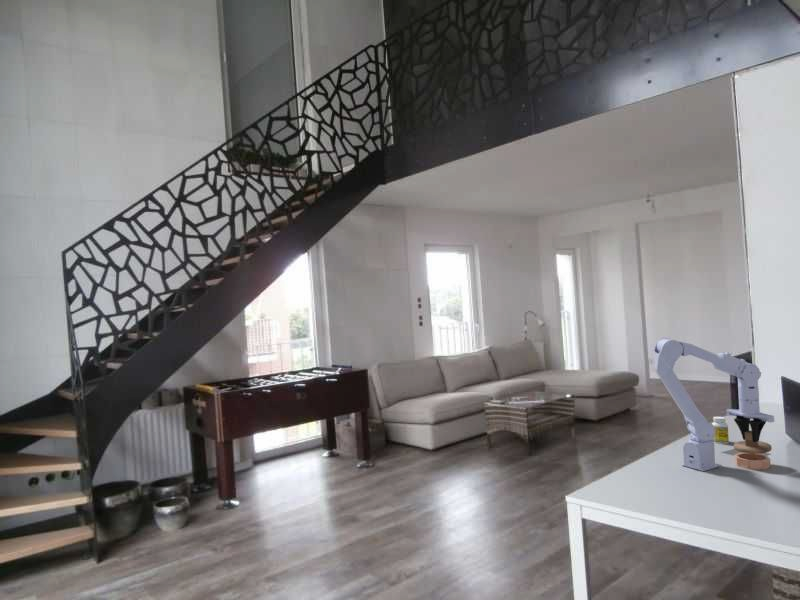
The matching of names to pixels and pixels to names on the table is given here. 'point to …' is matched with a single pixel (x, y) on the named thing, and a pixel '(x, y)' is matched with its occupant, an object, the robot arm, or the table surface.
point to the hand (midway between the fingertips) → (751, 440)
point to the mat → (733, 451)
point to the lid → (752, 445)
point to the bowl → (752, 461)
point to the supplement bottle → (720, 430)
